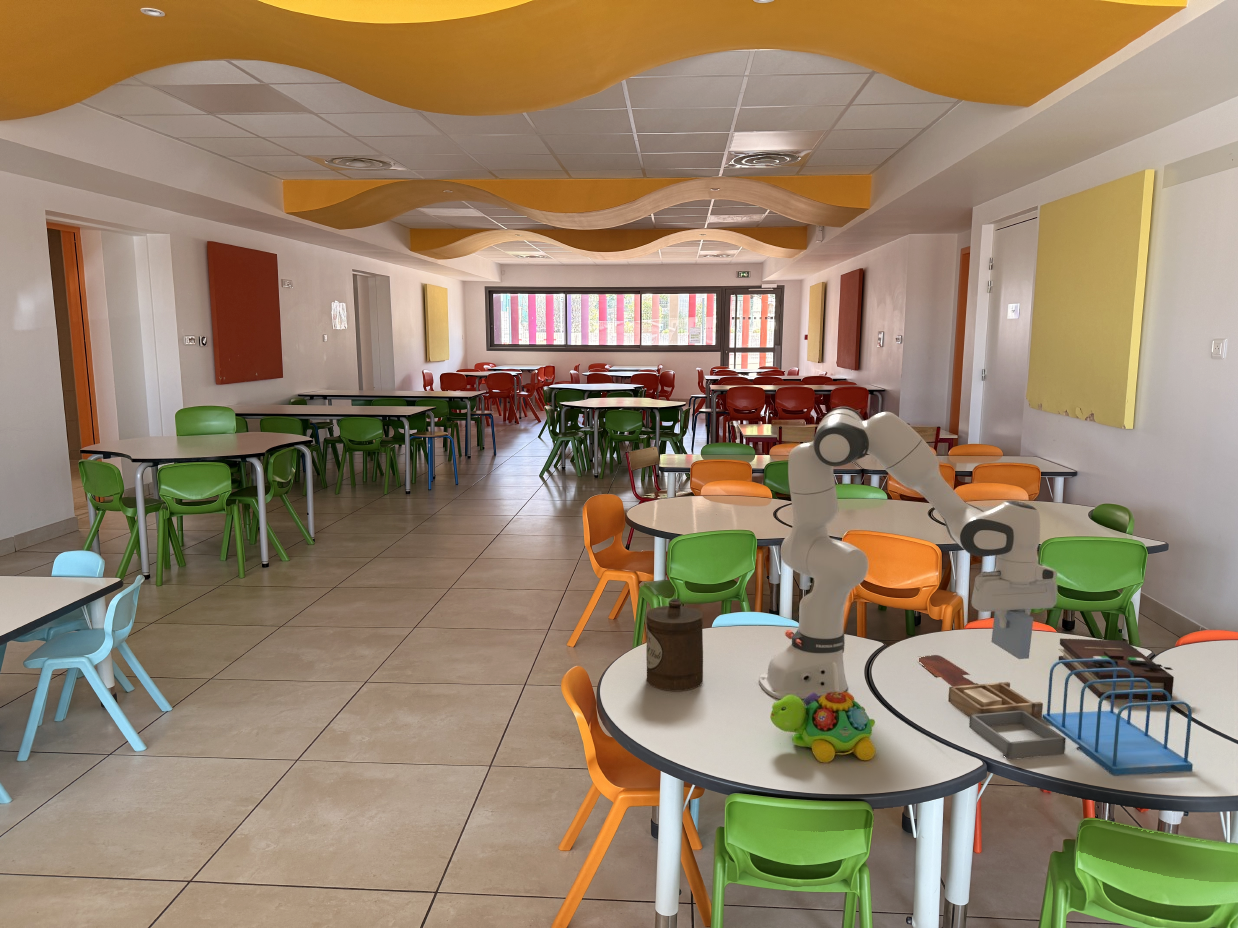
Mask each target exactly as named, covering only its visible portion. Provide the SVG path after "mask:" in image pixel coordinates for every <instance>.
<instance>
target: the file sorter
mask: <svg viewBox="0 0 1238 928" xmlns="http://www.w3.org/2000/svg"><path fill="white" fill-rule="evenodd" d="M1091 661H1110V662H1111V663H1112V664H1113V666H1114V668H1102V669H1080V670H1074V671H1072V672H1070V671H1069V673H1068V674H1067V675H1066V677H1065V679H1064V680H1065V681H1064V687H1063V689H1064V690H1063V700H1062V701H1063V705H1062V712H1054V713H1053V712H1051V705H1052V704H1051V703H1052V691H1053V690H1052V688H1053V687H1052V686H1053V676H1054V671H1055V668H1056V667H1057V666H1058V665H1060V664H1062V663H1070V662H1091ZM1100 671H1114V674H1113V679H1106V680H1092V681H1089V682H1087V683H1086V684H1085V685H1084V684H1083V686H1082V687H1081V690H1080V699H1079V700H1080V701H1079V711H1074V712H1070V711H1069V712H1067V700H1068V688H1069V681H1070V678H1071V677H1072V676H1074V674H1075V673H1080V672H1100ZM1117 671H1127V672H1129V674H1130V676H1131V678H1129V679H1116V676H1117ZM1129 681H1131V684H1130V690H1125V691H1115V688H1116V682H1129ZM1134 681H1144V682H1146V683H1147V685H1148V689H1145V690H1133V687H1134ZM1107 682H1113V686H1112V691H1110V692H1107V693H1105V694H1103V695H1102V697H1101V698H1099V700H1098V705H1097V710H1093V711H1091V710H1090V711H1084V701H1085V700H1084V699H1085V693H1086V692H1085V691H1086V689H1088V688H1087V687H1088V686H1089V685H1090V684H1093V683H1107ZM1047 690H1048V693H1047V708H1046V713H1042V718H1041V719H1043V720H1044V721H1046V722H1047V723H1048V724H1050V725H1051V726H1052V727H1053V728H1055V729H1056V730H1057V731H1059V733H1061V734H1063V735H1064V737H1067V738H1068V739H1069V741H1070V740H1071V741H1072V742H1073V743H1074V744H1076V745H1077V746H1076V748H1077V749H1079V750H1080V751H1081V752H1082V753H1084V754H1085V755H1086V756H1087V757H1089V758H1090V759H1091V760H1092V761H1094V762H1095V763H1096V764H1098V765H1099V766H1100V767H1102V768H1103V769H1104V770H1105V771H1106V772H1108V773H1109V774H1111V775H1112V776H1122V775H1142V774H1156V773H1157V774H1158V773H1159V774H1160V773H1176V772H1177V773H1179V772H1192V771H1193V765H1194V764H1193V763H1192V762H1191V761H1190V760H1189V759H1188V758H1189V750H1190V740H1191V729H1192V728H1191V727H1192V718H1193V717H1192V715H1193V710H1192V707H1191V705H1189V703H1187V702H1185V701H1184V700H1183V701H1182V700H1172V701H1171V696H1170V694H1169V693H1168V692H1167V691H1165V690H1162V689H1152V687H1151V684H1150V682H1149V681H1147V680H1146V679H1143V678H1134V675H1133V673H1132V672H1131V671H1130V670H1128V669H1126V668H1117V666H1116V664H1115V662H1114V661H1113V660H1111V659H1108V658H1097V659H1074V660H1060V661H1059V660H1058V661H1055V662H1054V663H1053V664H1052V665H1051V667H1050V670H1049V677H1048V689H1047ZM1152 692H1163V693H1165V694H1166V696H1167V701H1151V694H1152ZM1128 693H1130V695H1129V700H1128V703H1126V704H1124V705H1123V706H1121V707H1120V708H1119V709H1118V711H1117V712H1116V711H1114V710H1115V709H1114V707H1115V700H1116V699H1115V694H1128ZM1133 693H1148V700H1147V702H1134V703H1133V700H1132V698H1133ZM1108 695H1112V697H1111V699H1110V708H1109V710H1102V707H1103V706H1102V705H1103V701H1104V700H1105V697H1107V696H1108ZM1165 705H1166V715H1165V727H1164V728H1165V729H1164V739H1163V740H1164V741H1163V743H1162V742H1161V741H1159V740H1158V739H1156V738H1155V737H1153V736H1151V734H1149V729H1150V728H1149V727H1150V718H1151V717H1150V715H1151V708H1152V707H1151V706H1165ZM1172 705H1184V706H1185V707H1186V708H1187V722H1186V724H1187V725H1186V731H1185V732H1186V734H1185V742H1184V743H1185V746H1184V752H1183V753H1184V756H1182V755H1180V754H1179V753H1178V752H1176V751H1175V750H1174V749H1173V750H1172V748H1170V747H1168V743H1169V742H1168V740H1169V734H1170V733H1169V732H1170V731H1169V730H1170V720H1171V709H1172ZM1134 707H1146V715H1145V727H1144V730H1143V729H1141V728H1140V727H1138V726H1137V725H1136V724H1134V723H1132V722H1131V718H1132V708H1134ZM1126 709H1127V718H1125V717H1123V716H1122V713H1123V712H1124V710H1126Z"/></svg>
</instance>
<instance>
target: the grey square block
mask: <svg viewBox="0 0 1238 928" xmlns="http://www.w3.org/2000/svg"><path fill="white" fill-rule="evenodd" d="M1004 616H1005V618H1006V620H1008V621H1010V624H1009V626H1010V627H1009V628H1001V627H1000V626H999V623H1000V619H999V618H998V616H997V614H996V611H994V614H993V624H992V626H993V627H992V632H991V633H992V634H991V641H990V642H991V643H992V644H994V645H996V646H997V647H998V648H1001V649H1002V650H1003V651H1005V652H1006V653H1008V654H1010V655H1012V656H1013V657H1015V658H1016V659H1018V660H1024V659H1025V660H1026V659H1028V660H1029V659H1030V651H1031V650H1030V649H1031V645H1032V644H1031V642H1032V634H1033V627H1034V616H1031V614H1030V615H1028V614H1026V613H1024V612H1022V611H1020V610H1007V614H1006V615H1004Z"/></svg>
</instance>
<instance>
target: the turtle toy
mask: <svg viewBox="0 0 1238 928" xmlns="http://www.w3.org/2000/svg"><path fill="white" fill-rule="evenodd" d="M771 708H772V711H771V712H770V714H769V715H770V721H771V722H772V724H773V725H774V726H775V727H776V728H778V729H779V730H781V731H782V732H788V733H791V732H792V733H795V734H793V735H792V740H791V741H792V743H793V744H794V745H796V746H798V747H804V748H805V747H806V748H811V751H812V753H813V755H814V757H815V758H816V759H817V761H819V762H820V763H824V764H827V763H830V762H831V761H832V760H834V759H835V756H836V755H847V754H850V753H853V754H854V755H855V756H856V757H857V759H859V760H861V761H870V760H871V759H873V757H874V756H875V753H876V748H875V745H874V744H873V743H874V742H872V740H871V739H870V738H871V736H872V735H873V734H872V733H873V727H874V726H875V724H876V721H875V719H873V718H869V715H868V714H867V712H866V708H865V707H864V706H861V704H860V703H858V702H857V701H856V700H855V696H853V695H852V694H851V693H850V692H847V691H844V692H842V693H837V692H830V693H827V694H826V695H823V696H822V695H819V696H818V695H817V694H816V693H811V694H810V695H808V696H807V697H806V698H805V699H800V698H799V697H797V696H795V695H787V696H785V697H784V698H783V699H779V700H777V701H776V702H774V703H773V704H772V706H771Z"/></svg>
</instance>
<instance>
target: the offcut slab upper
mask: <svg viewBox="0 0 1238 928" xmlns="http://www.w3.org/2000/svg"><path fill="white" fill-rule="evenodd" d="M963 695H965V696H966V697H968V698H969V699H971V700H972V701H973V702H975V703H976V704H978V705H979V706H981V707H990V706H1000V705H1002V699H1000V698H998V697H996V696H994V695H993V694H991V693H989V692H987V691H986V690H984V689H982V688H977V689H970V690H964V692H963Z"/></svg>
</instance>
